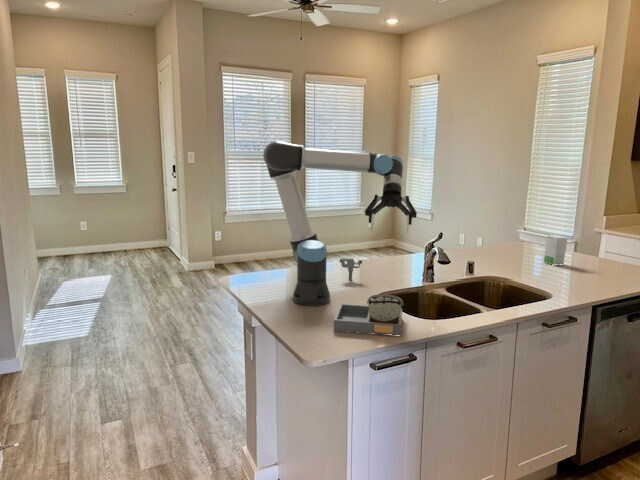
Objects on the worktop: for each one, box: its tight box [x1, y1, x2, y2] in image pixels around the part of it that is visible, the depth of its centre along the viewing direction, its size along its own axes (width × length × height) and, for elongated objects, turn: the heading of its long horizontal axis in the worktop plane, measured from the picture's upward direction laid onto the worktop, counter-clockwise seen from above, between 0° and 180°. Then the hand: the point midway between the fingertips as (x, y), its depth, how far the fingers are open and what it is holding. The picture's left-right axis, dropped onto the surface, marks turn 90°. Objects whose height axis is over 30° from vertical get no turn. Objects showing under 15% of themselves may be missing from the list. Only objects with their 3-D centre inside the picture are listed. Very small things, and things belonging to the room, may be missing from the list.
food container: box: [366, 293, 404, 324], centre depth 157 cm, size 12×6×10 cm, turn 89°
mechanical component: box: [339, 257, 363, 282], centre depth 214 cm, size 3×10×10 cm, turn 79°
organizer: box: [333, 303, 403, 336], centre depth 160 cm, size 22×17×4 cm
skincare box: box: [543, 234, 568, 265], centre depth 249 cm, size 8×7×16 cm
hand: (389, 229), depth 177 cm, fingers open, 13 cm apart
